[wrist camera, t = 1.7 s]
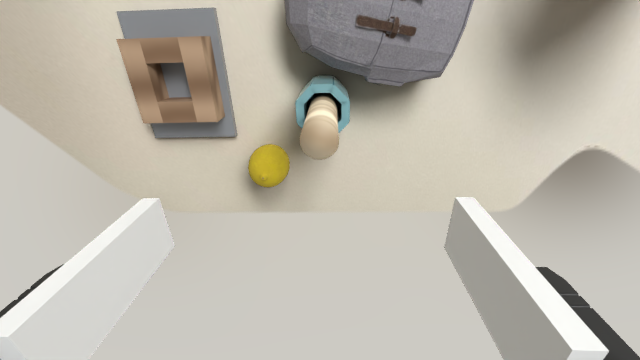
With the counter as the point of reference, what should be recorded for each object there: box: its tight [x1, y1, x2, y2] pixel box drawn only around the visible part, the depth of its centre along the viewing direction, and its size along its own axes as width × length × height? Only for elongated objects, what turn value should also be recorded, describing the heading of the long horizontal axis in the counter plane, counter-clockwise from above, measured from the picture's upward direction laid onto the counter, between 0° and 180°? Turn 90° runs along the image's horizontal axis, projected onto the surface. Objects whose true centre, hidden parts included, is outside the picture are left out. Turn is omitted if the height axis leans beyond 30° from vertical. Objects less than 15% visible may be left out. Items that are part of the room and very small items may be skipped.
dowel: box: [300, 93, 339, 160], centre depth 30 cm, size 3×3×17 cm
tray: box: [117, 8, 237, 138], centre depth 38 cm, size 16×12×1 cm
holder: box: [116, 36, 225, 123], centre depth 36 cm, size 10×10×3 cm
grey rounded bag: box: [285, 0, 474, 86], centre depth 30 cm, size 15×8×20 cm
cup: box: [295, 75, 350, 133], centre depth 35 cm, size 6×6×8 cm
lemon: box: [248, 144, 290, 187], centre depth 39 cm, size 6×6×8 cm
